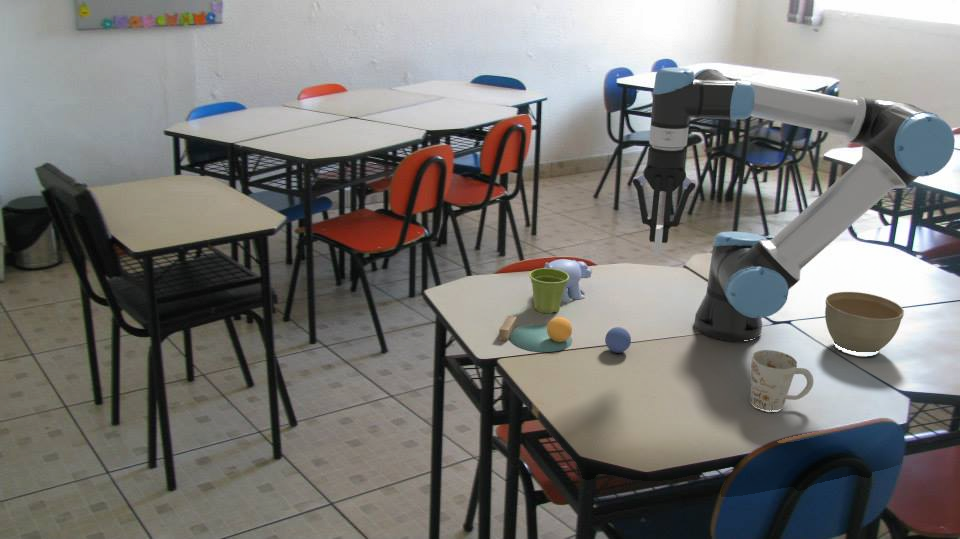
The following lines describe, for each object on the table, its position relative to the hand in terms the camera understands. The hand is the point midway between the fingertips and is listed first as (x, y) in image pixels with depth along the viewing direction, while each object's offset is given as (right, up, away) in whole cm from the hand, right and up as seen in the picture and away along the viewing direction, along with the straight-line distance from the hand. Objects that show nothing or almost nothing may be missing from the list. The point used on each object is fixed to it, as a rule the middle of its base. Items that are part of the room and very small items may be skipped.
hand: (656, 256), depth 192 cm
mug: (+21, -30, -14) cm, 39 cm away
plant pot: (-21, -12, +26) cm, 36 cm away
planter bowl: (+47, -21, +12) cm, 53 cm away
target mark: (-24, -18, +10) cm, 31 cm away
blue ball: (-8, -18, +4) cm, 20 cm away
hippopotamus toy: (-16, -9, +36) cm, 41 cm away
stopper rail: (-31, -17, +12) cm, 37 cm away
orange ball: (-20, -16, +8) cm, 27 cm away
